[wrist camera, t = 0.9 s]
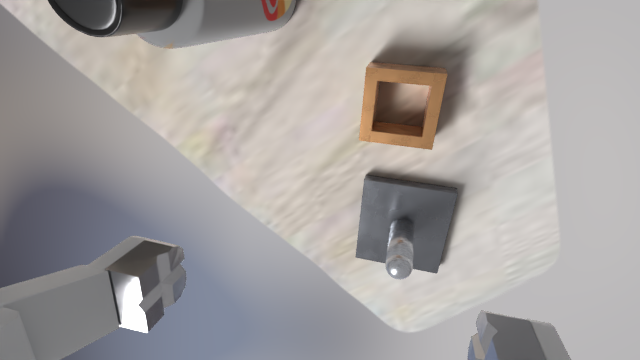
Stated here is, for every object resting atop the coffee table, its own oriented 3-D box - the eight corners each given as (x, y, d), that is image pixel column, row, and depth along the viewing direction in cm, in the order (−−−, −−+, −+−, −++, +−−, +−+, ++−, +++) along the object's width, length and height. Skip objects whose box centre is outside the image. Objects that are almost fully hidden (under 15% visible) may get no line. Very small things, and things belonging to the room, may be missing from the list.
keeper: (365, 174, 36) (352, 217, 29) (456, 188, 34) (466, 237, 27) (357, 250, 41) (343, 304, 33) (436, 266, 39) (440, 326, 32)
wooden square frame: (370, 61, 31) (366, 67, 28) (445, 68, 30) (447, 74, 27) (363, 130, 34) (359, 140, 31) (431, 138, 33) (431, 149, 30)
